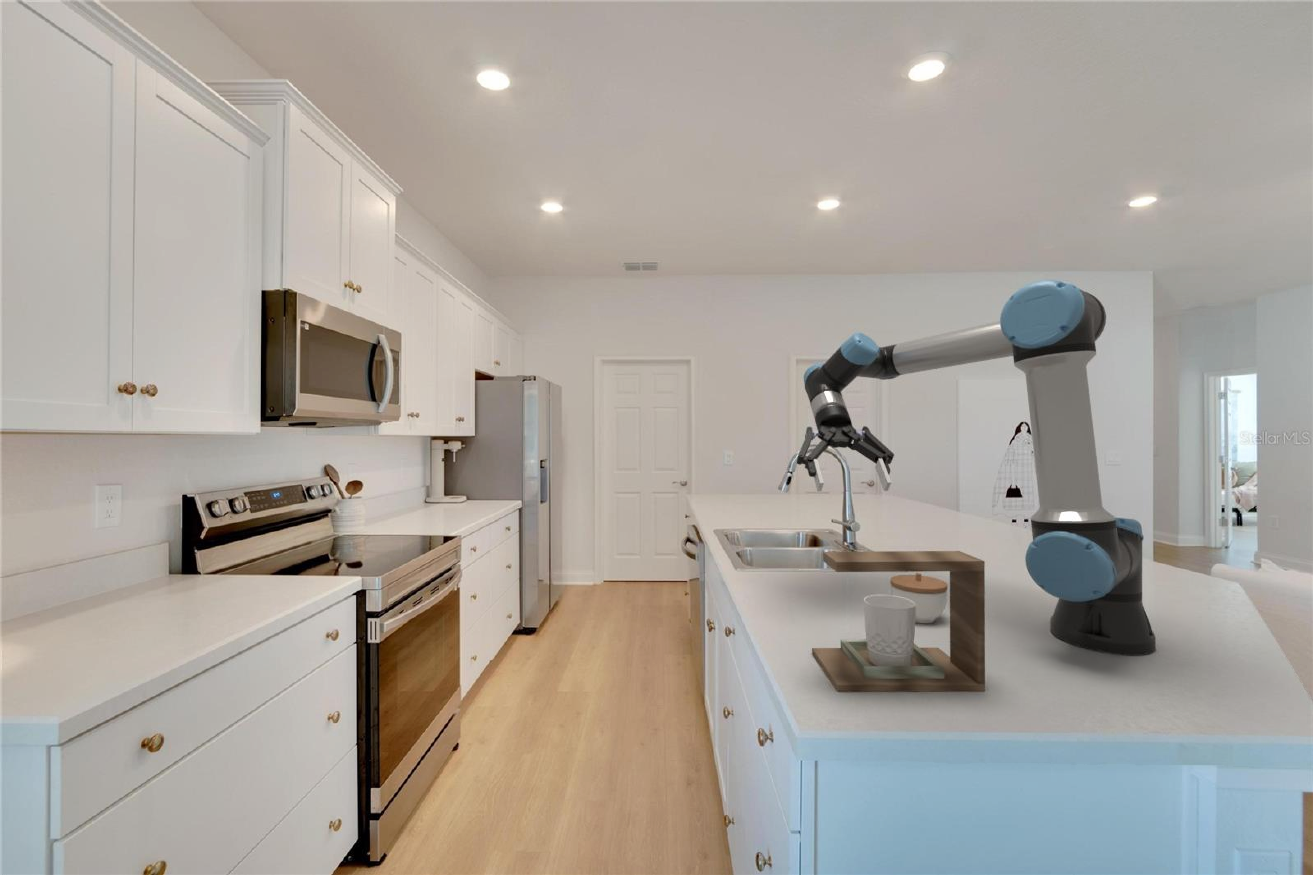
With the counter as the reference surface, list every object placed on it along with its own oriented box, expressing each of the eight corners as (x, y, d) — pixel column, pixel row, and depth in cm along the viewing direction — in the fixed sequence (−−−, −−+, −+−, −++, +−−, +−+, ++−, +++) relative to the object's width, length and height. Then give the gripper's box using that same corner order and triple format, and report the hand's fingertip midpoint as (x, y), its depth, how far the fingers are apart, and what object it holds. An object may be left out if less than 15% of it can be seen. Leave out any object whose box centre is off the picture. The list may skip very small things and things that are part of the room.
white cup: (915, 656, 92) (915, 597, 92) (916, 676, 85) (916, 611, 85) (865, 649, 95) (865, 592, 95) (862, 667, 88) (862, 605, 88)
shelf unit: (937, 653, 96) (937, 542, 96) (984, 691, 82) (984, 561, 82) (812, 653, 96) (811, 543, 96) (837, 691, 82) (836, 562, 82)
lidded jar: (949, 615, 115) (949, 571, 115) (945, 631, 106) (945, 583, 106) (895, 607, 121) (894, 564, 121) (886, 621, 112) (886, 575, 112)
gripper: (880, 426, 129) (909, 497, 114) (774, 427, 129) (789, 498, 114) (889, 402, 123) (921, 474, 108) (779, 404, 124) (795, 475, 109)
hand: (854, 487), depth 111 cm, fingers open, 13 cm apart
